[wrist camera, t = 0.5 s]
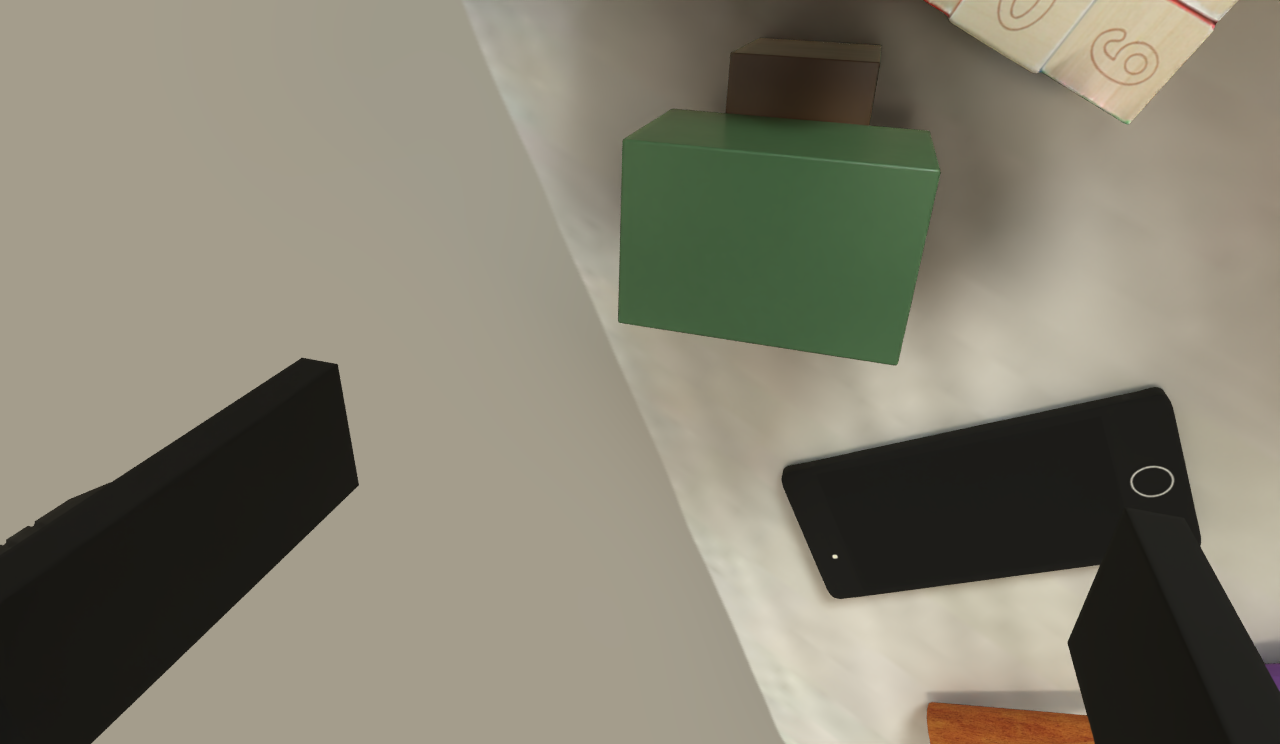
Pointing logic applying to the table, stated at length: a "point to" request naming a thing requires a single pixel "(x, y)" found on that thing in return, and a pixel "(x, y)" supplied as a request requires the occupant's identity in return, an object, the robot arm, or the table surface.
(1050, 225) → the table surface
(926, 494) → the cell phone
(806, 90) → the walnut block
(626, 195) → the green block
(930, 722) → the kendama
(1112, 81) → the stack of blocks
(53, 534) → the robot arm
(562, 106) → the table surface
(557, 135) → the table surface
